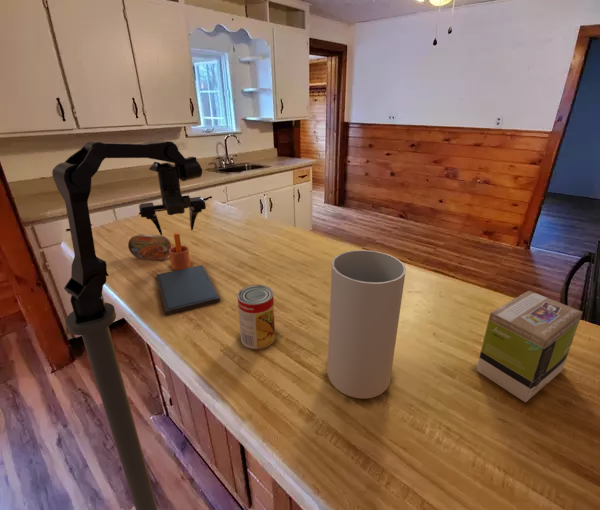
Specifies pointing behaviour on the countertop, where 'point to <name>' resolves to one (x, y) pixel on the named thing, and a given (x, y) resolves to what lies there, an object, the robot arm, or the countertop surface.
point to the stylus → (177, 242)
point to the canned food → (256, 316)
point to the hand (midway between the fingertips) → (176, 232)
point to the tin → (149, 246)
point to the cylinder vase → (363, 321)
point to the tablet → (186, 289)
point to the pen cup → (180, 258)
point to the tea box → (527, 343)
